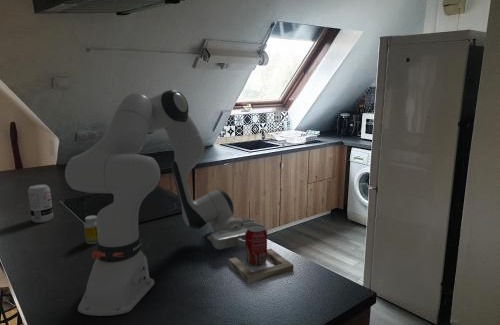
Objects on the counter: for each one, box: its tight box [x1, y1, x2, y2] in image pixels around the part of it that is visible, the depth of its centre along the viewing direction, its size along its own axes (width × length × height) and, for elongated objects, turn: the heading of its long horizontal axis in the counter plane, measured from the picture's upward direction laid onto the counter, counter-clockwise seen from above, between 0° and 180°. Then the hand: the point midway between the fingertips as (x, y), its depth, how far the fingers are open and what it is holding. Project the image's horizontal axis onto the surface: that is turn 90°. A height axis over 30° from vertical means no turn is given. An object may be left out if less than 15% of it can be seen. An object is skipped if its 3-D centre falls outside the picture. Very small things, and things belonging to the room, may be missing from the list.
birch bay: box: [228, 248, 294, 285], centre depth 119 cm, size 14×16×2 cm
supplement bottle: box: [83, 215, 98, 245], centre depth 138 cm, size 5×5×10 cm
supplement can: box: [27, 183, 54, 224], centre depth 160 cm, size 8×8×15 cm
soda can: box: [244, 224, 268, 267], centre depth 121 cm, size 7×7×12 cm
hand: (250, 244), depth 124 cm, fingers closed, pressing on soda can
